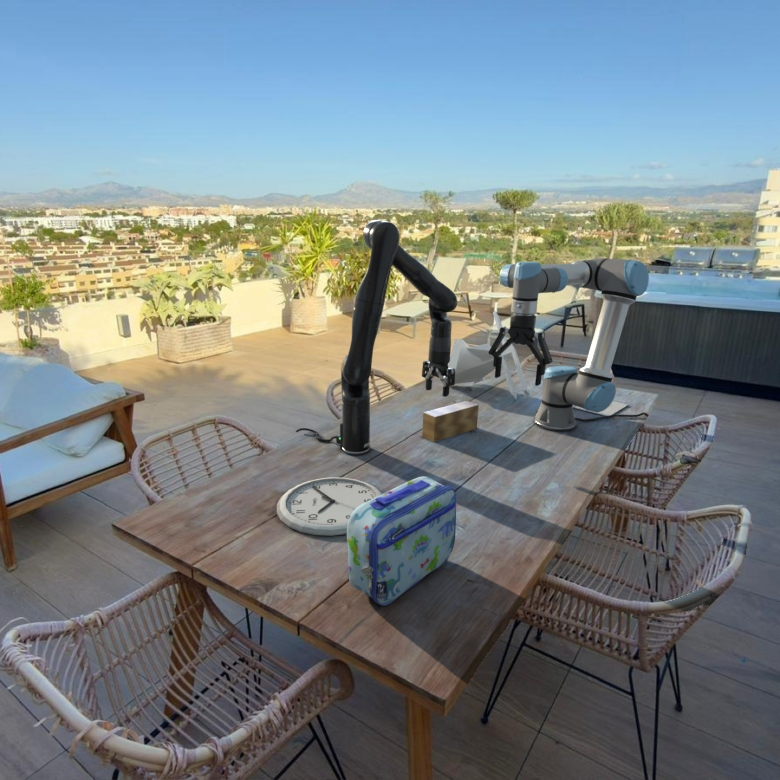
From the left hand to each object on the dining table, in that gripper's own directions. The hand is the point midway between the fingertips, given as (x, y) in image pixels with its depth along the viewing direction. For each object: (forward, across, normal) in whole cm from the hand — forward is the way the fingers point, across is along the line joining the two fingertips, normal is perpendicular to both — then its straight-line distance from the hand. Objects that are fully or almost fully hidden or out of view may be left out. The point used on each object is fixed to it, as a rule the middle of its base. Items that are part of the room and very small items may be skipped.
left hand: (436, 393), depth 185 cm
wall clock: (+18, +19, -56) cm, 62 cm away
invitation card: (+15, +18, +82) cm, 85 cm away
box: (+17, 0, +8) cm, 18 cm away
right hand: (-10, +28, +7) cm, 31 cm away
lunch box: (+17, +54, -60) cm, 83 cm away
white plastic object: (+16, -27, +54) cm, 63 cm away
